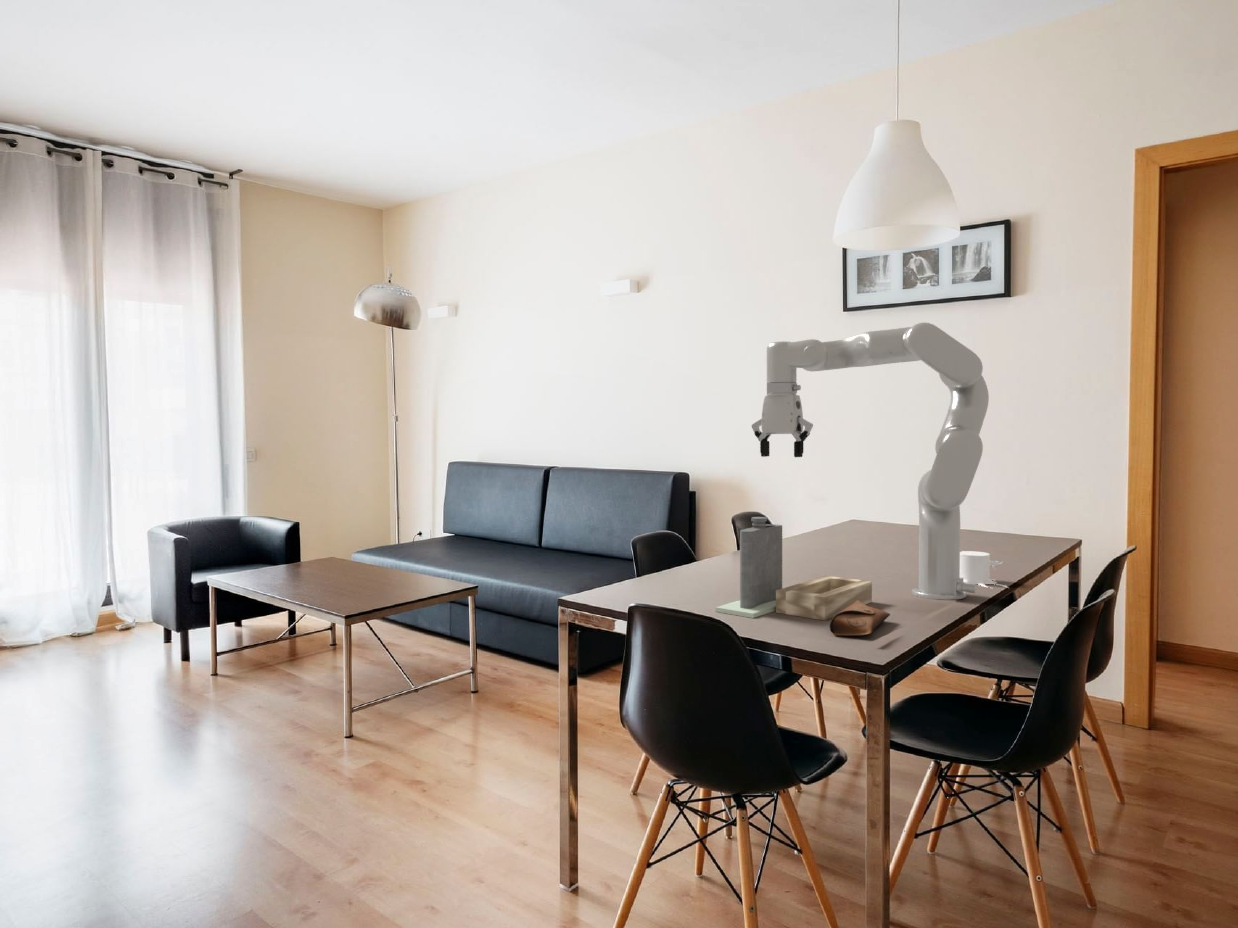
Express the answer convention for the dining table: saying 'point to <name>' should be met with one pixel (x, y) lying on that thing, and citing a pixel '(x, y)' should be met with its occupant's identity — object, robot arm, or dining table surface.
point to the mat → (752, 613)
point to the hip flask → (760, 563)
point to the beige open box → (822, 597)
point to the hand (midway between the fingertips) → (781, 456)
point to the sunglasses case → (857, 620)
